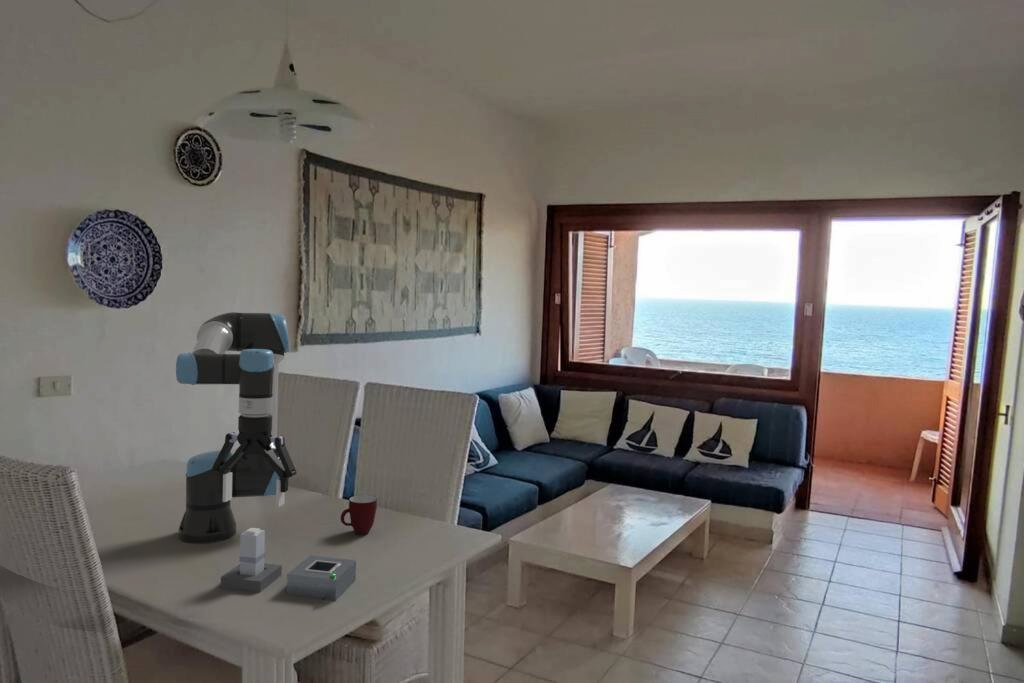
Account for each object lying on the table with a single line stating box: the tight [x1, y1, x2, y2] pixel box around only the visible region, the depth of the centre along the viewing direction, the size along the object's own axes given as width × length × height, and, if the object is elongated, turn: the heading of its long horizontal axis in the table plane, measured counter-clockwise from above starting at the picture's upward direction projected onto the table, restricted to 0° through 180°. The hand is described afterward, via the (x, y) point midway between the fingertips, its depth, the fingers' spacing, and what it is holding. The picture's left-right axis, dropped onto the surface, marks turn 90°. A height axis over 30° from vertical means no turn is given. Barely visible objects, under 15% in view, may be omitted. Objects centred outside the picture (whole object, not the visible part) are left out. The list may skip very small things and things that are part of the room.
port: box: [286, 555, 357, 602], centre depth 164 cm, size 12×12×6 cm
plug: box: [239, 527, 266, 576], centre depth 165 cm, size 4×4×13 cm
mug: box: [340, 494, 378, 535], centre depth 203 cm, size 10×8×10 cm
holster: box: [220, 562, 283, 593], centre depth 165 cm, size 10×10×3 cm
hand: (253, 503), depth 164 cm, fingers open, 13 cm apart
